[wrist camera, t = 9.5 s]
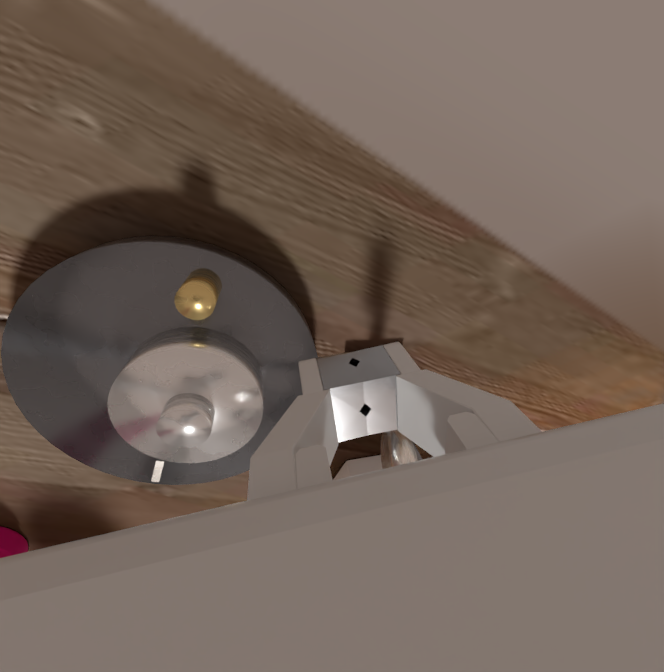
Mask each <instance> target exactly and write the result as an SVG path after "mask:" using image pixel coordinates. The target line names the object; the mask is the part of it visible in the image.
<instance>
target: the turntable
mask: <svg viewBox="0 0 664 672" xmlns="http://www.w3.org/2000/svg"><path fill="white" fill-rule="evenodd" d="M180 327H201V328H208V329H212V330H216V331H219V332H222V333H225V334H227V335H229V336H231V337H233V338H235V339H236V340H238V341H239V342H241V343H242V344H243V345H245V346H246V347H247V348H248V349H249V350H250V351H251V352H252V354H253V355H254V356H255V358H256V359H257V361H258V363H259V365H260V367H261V370H262V374H263V416H262V421H261V423H260V426H259V428H258V430H257V432H256V433H255V435H254V436H253V437H252V438H251V440H250V441H248V442H247V443H246V444H245V445H244V446H243V447H241V448H240V449H239V450H237V451H235V452H234V453H232V454H229V455H227V456H225V457H222V458H219V459H216V460H212V461H208V462H201V463H177V462H170V461H165V460H161V459H157V458H154V457H151V456H149V455H147V454H144V453H143V452H141V451H139V450H137V449H135V448H134V447H133V446H131V445H130V444H128V443H127V442H126V441H125V440H124V439H123V438H122V437H121V436H120V435H119V434H118V432H117V431H116V429H115V428H114V426H113V424H112V422H111V420H110V417H109V413H108V404H107V402H108V395H109V392H110V389H111V386H112V385H113V383H114V381H115V379H116V378H117V376H118V375H119V374H120V372H121V371H122V369H123V368H124V366H125V365H126V364H127V362H128V361H129V359H130V358H131V356H132V355H133V354H134V352H135V351H136V350H137V349H138V347H139V346H140V345H141V344H143V343H144V342H145V341H146V340H148V339H149V338H151V337H152V336H154V335H156V334H158V333H161V332H164V331H167V330H170V329H175V328H180ZM1 356H2V365H3V372H4V376H5V379H6V382H7V385H8V389H9V391H10V393H11V395H12V397H13V399H14V401H15V403H16V405H17V406H18V408H19V409H20V410H21V412H22V413H23V415H24V416H25V418H26V419H27V420H28V421H29V422H30V424H31V425H32V426H33V427H34V428H35V429H36V430H37V431H38V432H39V433H40V434H41V435H42V436H43V437H44V438H46V439H47V440H48V441H49V442H50V443H52V444H53V445H54V446H55V447H57V448H58V449H60V450H61V451H63V452H64V453H66V454H67V455H69V456H71V457H72V458H74V459H76V460H78V461H80V462H82V463H84V464H85V465H88V466H90V467H93V468H95V469H97V470H100V471H102V472H105V473H108V474H111V475H114V476H118V477H121V478H125V479H130V480H134V481H139V482H146V483H154V484H169V485H179V484H196V483H205V482H210V481H216V480H221V479H224V478H228V477H231V476H235V475H238V474H240V473H243V472H245V471H248V470H250V458H251V457H252V455H253V454H254V453H255V451H256V450H257V449H258V447H259V446H260V445H261V443H262V442H263V441H264V440H265V438H266V437H267V436H268V434H269V433H270V432H271V430H272V429H273V428H274V426H275V425H276V424H277V422H278V421H279V420H280V419H281V417H282V416H283V415H284V413H285V412H286V411H287V409H288V408H289V407H290V405H291V404H292V403H293V401H294V400H295V399H296V398H297V396H299V395H303V393H302V386H301V379H300V372H299V365H298V363H299V361H303V360H307V359H312V358H318V356H317V353H316V349H315V345H314V341H313V337H312V334H311V330H310V328H309V326H308V323H307V321H306V319H305V316H304V315H303V313H302V312H301V310H300V308H299V307H298V305H297V303H296V302H295V301H294V299H293V298H292V297H291V296H290V295H289V293H288V292H287V291H286V290H285V288H283V287H282V286H281V285H280V284H279V283H278V282H277V281H276V280H275V279H274V278H273V277H272V276H271V275H269V274H268V273H266V272H265V271H264V270H262V269H261V268H260V267H258V266H257V265H255V264H254V263H252V262H250V261H248V260H247V259H245V258H243V257H241V256H239V255H238V254H235V253H233V252H230V251H228V250H226V249H223V248H221V247H218V246H215V245H212V244H208V243H204V242H201V241H197V240H192V239H186V238H179V237H173V236H142V237H131V238H124V239H120V240H116V241H111V242H107V243H104V244H101V245H98V246H96V247H93V248H91V249H88V250H86V251H83V252H81V253H79V254H77V255H75V256H73V257H71V258H69V259H66V260H65V261H63V262H61V263H60V264H58V265H56V266H54V267H53V268H51V269H49V270H48V271H46V272H45V273H44V274H43V275H41V276H40V277H39V278H38V279H37V280H35V281H34V282H33V283H32V284H31V285H30V286H29V287H28V288H27V289H26V291H25V292H24V293H23V294H22V295H21V297H20V298H19V299H18V300H17V302H16V304H15V306H14V307H13V309H12V311H11V313H10V315H9V317H8V320H7V323H6V326H5V330H4V333H3V339H2V350H1Z"/></svg>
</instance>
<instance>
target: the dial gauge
mask: <svg viewBox="0 0 664 672" xmlns="http://www.w3.org/2000/svg"><path fill="white" fill-rule="evenodd" d="M380 450H381V463H382V469H385V468H389V467H393V466H398V465H402V464H406V463H410V462H415V461H419V460H423V459H422V457H421V455H420V454H419V452H418V450H417V448H416V446H415V444H414V442H413V441H411V440H410V439H408V438H407V437H406V436H404V435H403V434H402V433H400V432H399V431H398V429H397V430H392V431H387V432H383V433H382V437H381V448H380Z"/></svg>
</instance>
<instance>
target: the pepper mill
mask: <svg viewBox="0 0 664 672" xmlns="http://www.w3.org/2000/svg"><path fill="white" fill-rule="evenodd" d="M27 551H28V543H27V541H26V539H25V538H24V537H23V536H22V535H21V534H19V533H18V532H16V531H14V530H12V529H9V528H5V527H1V526H0V558H3V557H7V556H12V555H16V554H20V553H24V552H27Z"/></svg>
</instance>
